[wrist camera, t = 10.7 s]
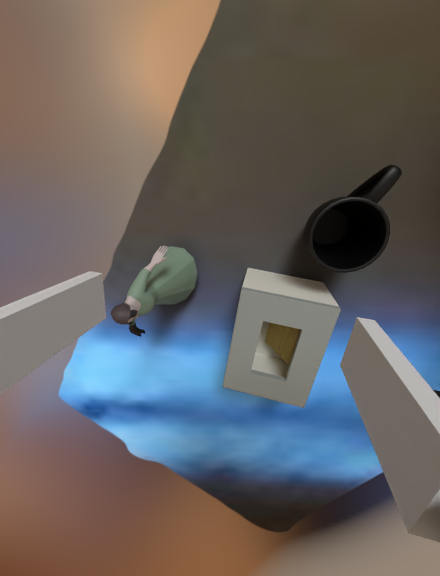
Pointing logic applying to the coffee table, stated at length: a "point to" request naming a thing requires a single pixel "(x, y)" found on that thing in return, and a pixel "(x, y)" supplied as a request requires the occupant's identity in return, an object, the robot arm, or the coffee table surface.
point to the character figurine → (158, 285)
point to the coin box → (288, 312)
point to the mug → (352, 225)
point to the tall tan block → (282, 340)
